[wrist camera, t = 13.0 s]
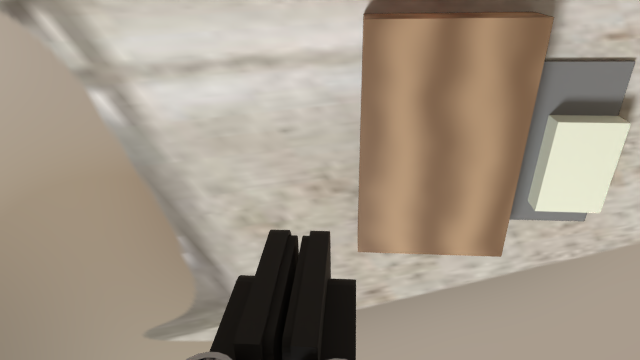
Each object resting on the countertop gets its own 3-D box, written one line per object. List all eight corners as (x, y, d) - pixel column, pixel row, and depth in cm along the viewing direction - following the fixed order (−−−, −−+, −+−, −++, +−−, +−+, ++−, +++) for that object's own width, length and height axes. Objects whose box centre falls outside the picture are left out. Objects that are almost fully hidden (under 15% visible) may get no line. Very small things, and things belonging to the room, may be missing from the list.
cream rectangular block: (558, 122, 36) (548, 115, 38) (535, 211, 40) (527, 200, 42) (631, 123, 36) (618, 115, 38) (600, 213, 40) (589, 202, 42)
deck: (533, 11, 35) (554, 17, 31) (489, 233, 45) (501, 256, 41) (363, 13, 36) (364, 19, 32) (357, 229, 46) (357, 251, 42)
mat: (633, 60, 36) (635, 61, 35) (583, 219, 43) (584, 221, 43) (524, 61, 36) (525, 61, 36) (492, 217, 44) (493, 218, 43)
